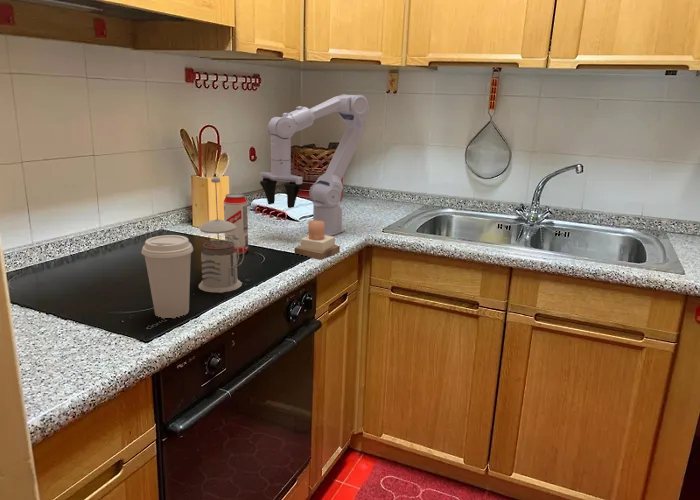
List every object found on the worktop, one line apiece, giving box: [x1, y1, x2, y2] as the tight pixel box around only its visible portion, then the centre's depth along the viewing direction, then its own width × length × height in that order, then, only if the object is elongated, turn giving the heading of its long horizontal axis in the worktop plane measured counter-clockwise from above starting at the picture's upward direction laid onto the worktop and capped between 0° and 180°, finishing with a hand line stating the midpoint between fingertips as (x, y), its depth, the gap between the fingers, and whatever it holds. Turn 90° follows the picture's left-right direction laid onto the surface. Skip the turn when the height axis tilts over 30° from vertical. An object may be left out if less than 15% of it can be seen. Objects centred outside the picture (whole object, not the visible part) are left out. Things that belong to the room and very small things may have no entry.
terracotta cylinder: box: [307, 220, 324, 240], centre depth 148 cm, size 4×4×4 cm
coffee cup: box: [141, 234, 194, 319], centre depth 105 cm, size 10×10×15 cm
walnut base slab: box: [294, 244, 341, 261], centre depth 149 cm, size 9×9×2 cm
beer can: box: [223, 193, 249, 256], centre depth 146 cm, size 6×6×16 cm
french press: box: [198, 176, 245, 293], centre depth 119 cm, size 10×12×25 cm
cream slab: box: [300, 235, 336, 252], centre depth 149 cm, size 7×7×2 cm
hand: (280, 205), depth 159 cm, fingers open, 7 cm apart
